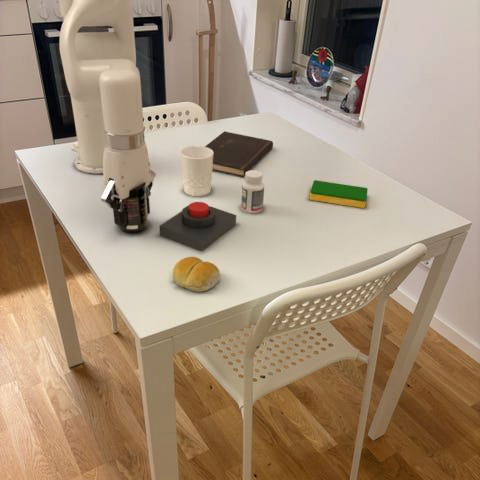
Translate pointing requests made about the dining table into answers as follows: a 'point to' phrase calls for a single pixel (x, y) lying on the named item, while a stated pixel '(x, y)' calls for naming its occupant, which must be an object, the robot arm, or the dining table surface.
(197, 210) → the button
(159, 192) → the dining table surface
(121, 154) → the robot arm
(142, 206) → the supplement container
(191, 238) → the control box
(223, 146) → the hardcover book
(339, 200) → the dish sponge
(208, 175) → the white cup
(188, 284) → the bread roll
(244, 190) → the pill bottle
